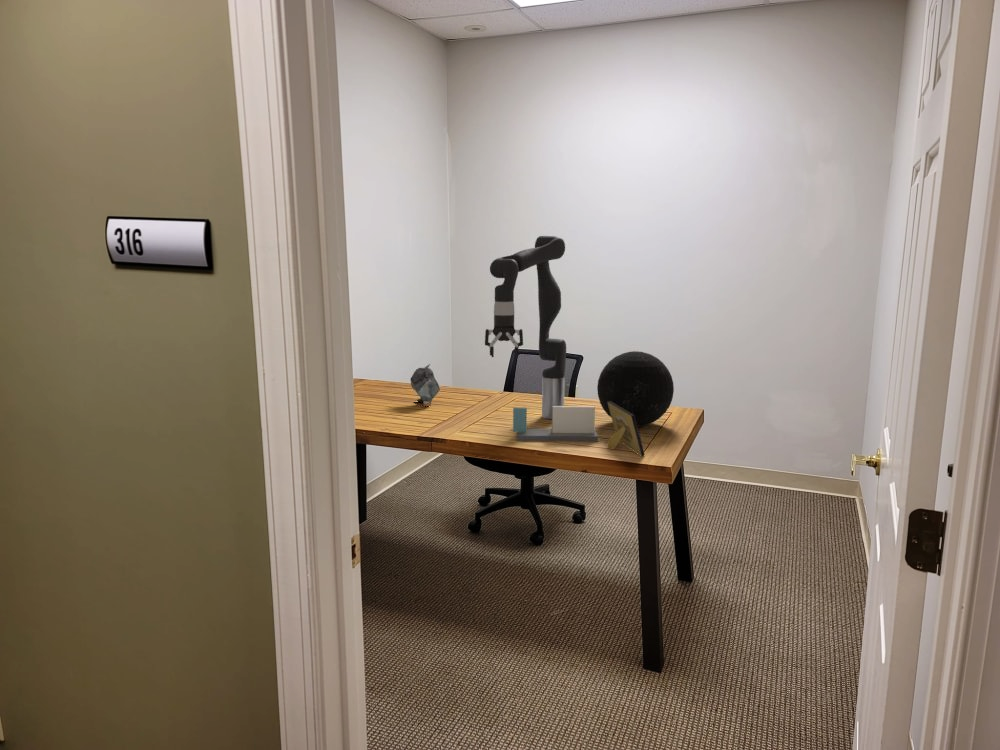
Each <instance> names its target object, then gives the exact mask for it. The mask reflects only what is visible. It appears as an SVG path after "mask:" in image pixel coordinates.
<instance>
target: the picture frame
mask: <svg viewBox="0 0 1000 750" xmlns="http://www.w3.org/2000/svg"><path fill="white" fill-rule="evenodd" d="M608 406H609V410H610V414H611V417H612V418H611V417H610V418H611V420H612V425H613V428H614V432H615V433H614V434H613V435H612V436H611V437H610V438H608V441H607V446H606V448H607V447H608V449H610V448H611V449H612V450H615V449H616V448H617V446H618V444H619V442H620V443H622V444H623V443H624V444H623V445H625V447H627V446H628V448H629V449H630V448H631V449H630V450H632V451H633V450H634V451H635V454H637V453H638V455H639V454H640V455H641V456H642V457H645V456H644V455H645V450H644V446H643V443H642V438H641V435H640V431H639V428H638V427H639V426H637V422H636V419H635V415H633V414H632V413H630V412H628V411H626V410H625V409H623V408H621V407H620V406H618V405H616V404H615V403H613V402H611V401H609V402H608ZM611 449H610V450H611ZM634 451H633V452H634ZM640 455H639V456H640ZM641 456H640V457H641Z"/></svg>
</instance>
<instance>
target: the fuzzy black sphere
mask: <svg viewBox="0 0 1000 750" xmlns="http://www.w3.org/2000/svg"><path fill="white" fill-rule="evenodd" d="M596 387H597V398H598V400H599V404H600V406H601V407H602V409H603V411H604V412H605V413H606V415H608V416H609V417H610V418H611V419H612V417H611V414H610V410H609V406H608V402H609V401H611V402H613V403H615V404H616V405H618V406H620V407H621V408H623V409H625V410H626V411H628V412H630V413H632V414H633V415H635V419H636V422H637V426H638V427H644V426H648V425H650V424H653V423H655V422H657V421H658V420H659V419H660V418H662V417H663V415H665V414H666V412H668V409H669V408H670V406H671V403H672V401H673V397H674V392H675V390H674V380H673V377H672V374H671V373H670V371H669V368H668V367H667V366H666V365H665V363H664V362H663V361H662V360H661V359H659V358H658V357H656V356H654V355H652V354H650V353H648V352H643V351H636V350H633V351H632V350H631V351H628V352H624V353H621V354H619V355H616V356H615V357H613V358H612V359H611V360H609V361H608V362H607V364H606V365H605V366H604V367H603V368H602V370H601V372H600V374H599V377H598V380H597V386H596Z"/></svg>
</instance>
